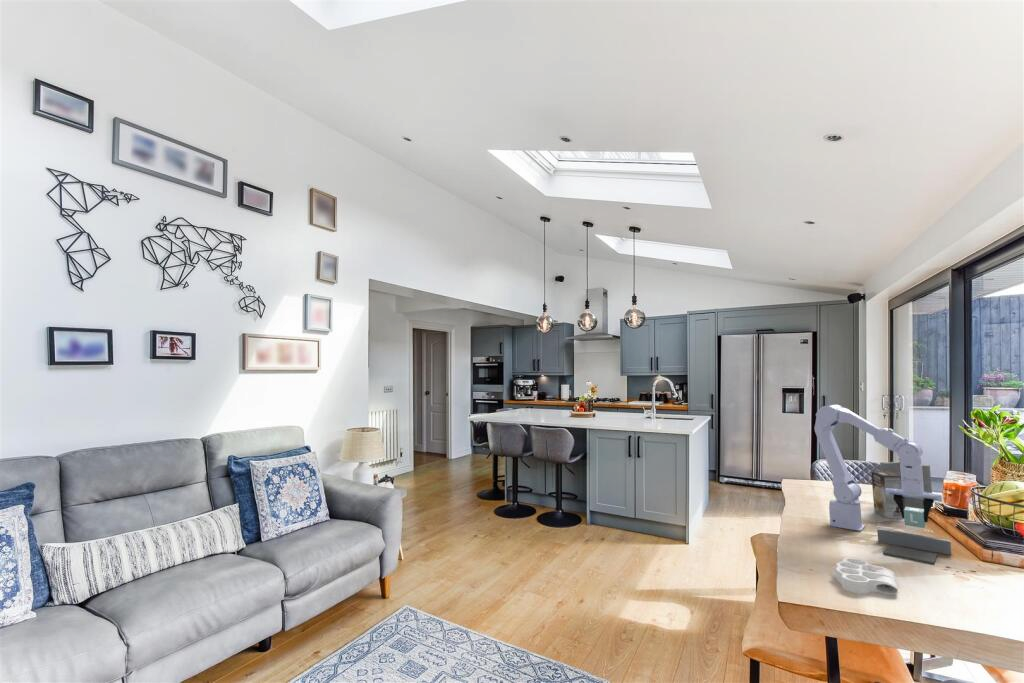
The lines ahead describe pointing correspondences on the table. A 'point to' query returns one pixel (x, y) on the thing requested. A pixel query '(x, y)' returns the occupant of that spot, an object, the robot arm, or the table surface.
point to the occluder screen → (914, 541)
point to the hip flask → (895, 468)
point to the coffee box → (881, 500)
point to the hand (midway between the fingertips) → (915, 519)
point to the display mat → (910, 554)
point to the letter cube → (914, 517)
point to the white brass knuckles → (864, 577)
